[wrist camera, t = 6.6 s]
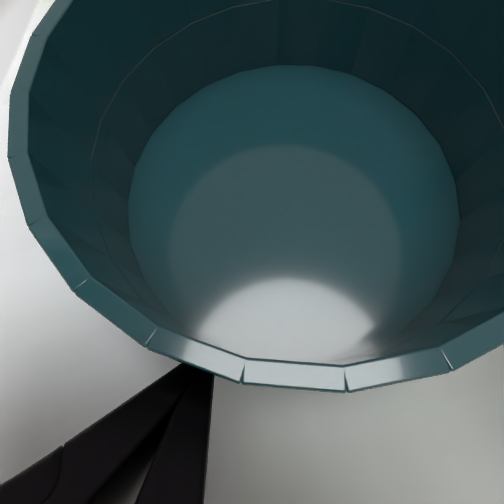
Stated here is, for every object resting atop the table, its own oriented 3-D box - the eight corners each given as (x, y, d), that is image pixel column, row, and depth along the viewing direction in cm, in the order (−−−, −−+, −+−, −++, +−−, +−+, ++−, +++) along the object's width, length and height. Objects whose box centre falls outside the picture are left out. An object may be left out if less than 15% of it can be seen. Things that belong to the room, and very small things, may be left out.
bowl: (135, 413, 16) (-7, 465, 8) (111, 95, 21) (16, -71, 13) (525, 335, 16) (791, 304, 8) (399, 42, 22) (478, -152, 13)
